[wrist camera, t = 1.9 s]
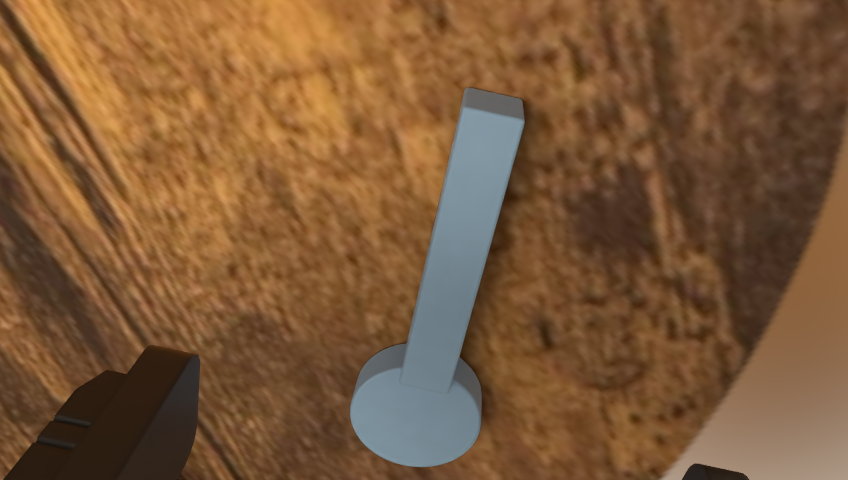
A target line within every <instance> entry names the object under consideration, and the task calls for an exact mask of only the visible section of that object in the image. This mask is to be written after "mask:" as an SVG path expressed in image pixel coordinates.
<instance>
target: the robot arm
mask: <svg viewBox="0 0 848 480" xmlns="http://www.w3.org/2000/svg"><path fill="white" fill-rule="evenodd" d="M199 373H200V359H199V356H198V355H196V354H192V353H187V352H183V351H178V350H173V349H169V348H164V347H159V346H155V345H150V346H148V347H147V348H146V349H145V350H144V351H143V353H142V354H141V355H140V357H139V358H138V360H137V361H136V362H135V364H134V365H133V366H132V368H131V369H130V371H129V372H128V373H127V374H123V373H119V372H114V371H109V370H106V371H105V372H103V373H101V374H100V375H98V376H97V377H95V378H93V379H92V380H90V381H89V382H87V383H85V384H84V385H82V386H81V387H79V388H77V389H76V390H75V391H74V392H73V394H72V395H71V396H70V397H69V399H68V400H67V401H66V402H65V404H64V405H63V406H62V407H61V409H60V410H59V411H58V412H57V414H56V415H55V418H54V420H53V421H50V422H49V424H48V425H47V426H46V427H45V429H44V430H43V431H42V432H41V433H40V435H39V436H38V437H37V441H36V443H32V445H31V446H30V447H29V448H28V450H27V451H26V452H25V453H24V455H23V456H22V457H21V458H20V460H19V461H18V462H17V463H16V465H15V466H14V467H13V468H12V470H11V471H10V472H9V473H8V475H7V476H6V477H5V478H4V480H177V479H178V477H179V476H180V474H181V472H182V470H183V468H184V466H185V464H186V462H187V459H188V457H189V454H190V452H191V449H192V446H193V442H194V438H195V434H196V428H197V415H198V394H199ZM682 480H749V479H748V477H747V476H746V475H744V474H743V473H739V472H734V471H729V470H725V469H720V468H716V467H711V466H706V465H702V464H693V465H692V466H690V467H689V469H688V470H687V472H686V474H685V475H684V477H683V479H682Z"/></svg>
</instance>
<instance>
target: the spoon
mask: <svg viewBox="0 0 848 480" xmlns="http://www.w3.org/2000/svg"><path fill="white" fill-rule="evenodd" d="M524 124H525V120H524V110H523V101H522V100H521V99H519V98H515V97H510V96H506V95H501V94H497V93H492V92H488V91H483V90H478V89H474V88H466V89H465V91H464V95H463V99H462V104H461V108H460V112H459V117H458V121H457V125H456V130H455V134H454V139H453V143H452V147H451V152H450V156H449V160H448V165H447V169H446V173H445V178H444V182H443V187H442V191H441V195H440V200H439V204H438V208H437V213H436V217H435V221H434V226H433V230H432V235H431V239H430V243H429V248H428V252H427V256H426V261H425V265H424V269H423V274H422V278H421V283H420V287H419V291H418V296H417V300H416V304H415V309H414V313H413V317H412V322H411V326H410V330H409V335H408V339H407V343H405V344H399V345H395V346H391V347H389V348H386V349H384V350H382V351H380V352H378V353H377V354H375V355H374V356H373V357H372V358H370V359H369V360H368V361H367V362H366V363H365V365H364V366H363V368H362V369H361V371H360V373H359V376H358V379H357V383H356V387H355V390H354V394H353V398H352V401H351V406H350V418H351V422H352V425H353V428H354V430H355V432H356V434H357V436H358V437H359V439H360V440H361V441H362V442H363V443H364V444H365V445H366V446H367V447H368V448H369V449H370V450H371V451H373V452H374V453H375V454H377V455H379V456H380V457H382V458H384V459H386V460H389V461H391V462H394V463H397V464H401V465H406V466H413V467H430V466H437V465H441V464H445V463H448V462H450V461H452V460H455V459H457V458H458V457H460V456H461V455H463V454H464V453H465V452H466V451H468V450H469V449H470V447H471V446H472V445H473V444H474V442H475V440H476V439H477V437H478V435H479V432H480V428H481V410H482V391H481V386H480V383H479V380H478V378H477V376H476V375H475V373H474V372H473V370H472V369H471V368H470V366H469V365H468V364H467V363H466V362H465V361H464V360H462V359H461V358H460V357H459V356H460V353H461V349H462V345H463V342H464V338H465V335H466V331H467V328H468V324H469V321H470V317H471V313H472V310H473V306H474V303H475V299H476V296H477V292H478V288H479V285H480V281H481V278H482V274H483V271H484V267H485V263H486V260H487V256H488V253H489V249H490V246H491V242H492V239H493V235H494V231H495V228H496V224H497V221H498V217H499V214H500V210H501V206H502V203H503V199H504V196H505V192H506V189H507V185H508V181H509V178H510V174H511V171H512V167H513V164H514V160H515V156H516V153H517V149H518V146H519V142H520V139H521V135H522V132H523V128H524Z"/></svg>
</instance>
